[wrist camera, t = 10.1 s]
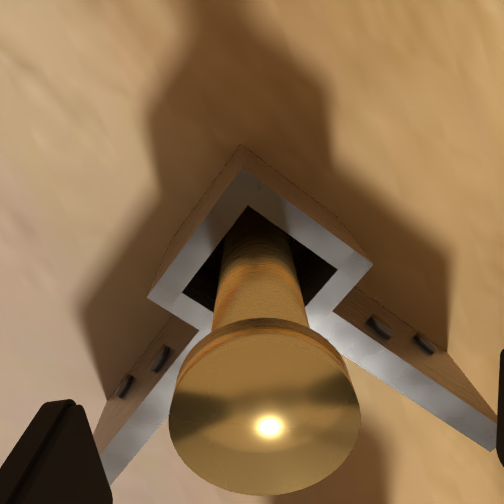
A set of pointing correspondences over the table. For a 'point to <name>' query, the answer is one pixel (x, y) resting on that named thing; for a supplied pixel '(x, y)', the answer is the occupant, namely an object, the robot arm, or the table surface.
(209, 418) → the hinge pin
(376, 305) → the hinge body
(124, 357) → the table surface
